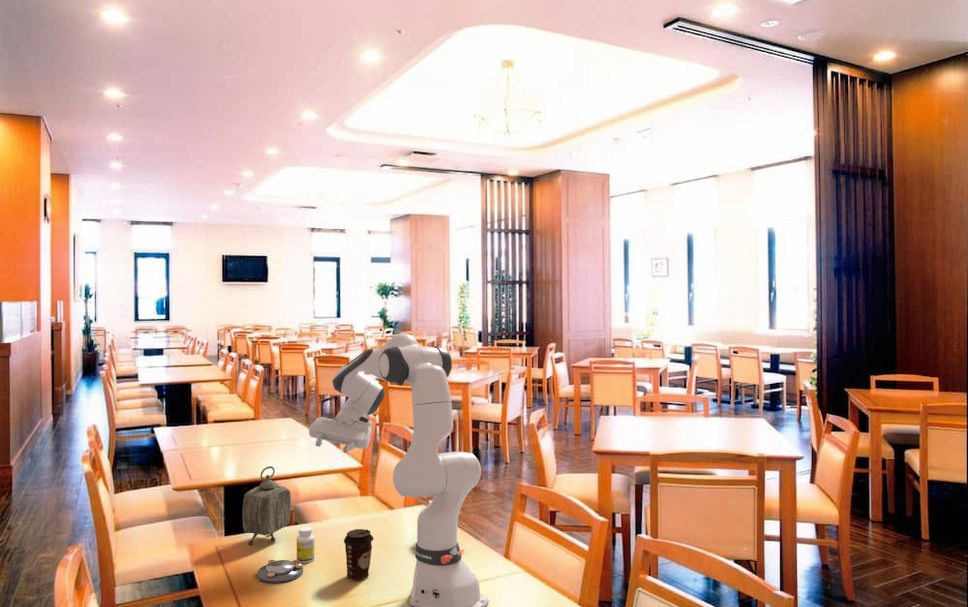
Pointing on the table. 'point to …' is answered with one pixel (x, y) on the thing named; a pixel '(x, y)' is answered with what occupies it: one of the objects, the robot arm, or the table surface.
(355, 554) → the coffee cup
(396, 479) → the robot arm
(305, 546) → the supplement bottle
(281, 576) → the stand
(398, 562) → the table surface
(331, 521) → the table surface
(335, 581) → the table surface
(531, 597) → the table surface
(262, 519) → the tabletop clock
